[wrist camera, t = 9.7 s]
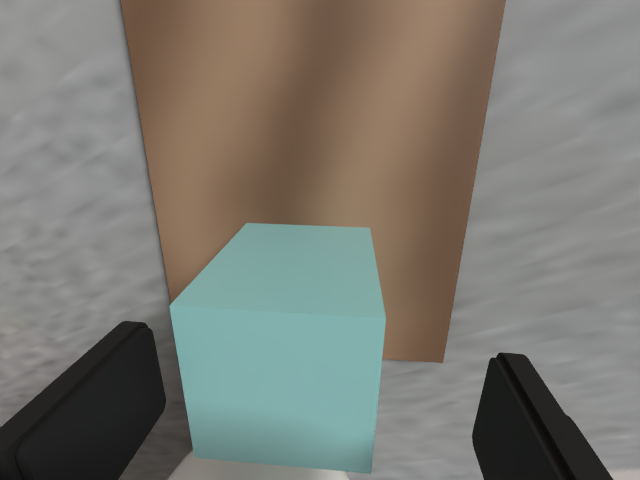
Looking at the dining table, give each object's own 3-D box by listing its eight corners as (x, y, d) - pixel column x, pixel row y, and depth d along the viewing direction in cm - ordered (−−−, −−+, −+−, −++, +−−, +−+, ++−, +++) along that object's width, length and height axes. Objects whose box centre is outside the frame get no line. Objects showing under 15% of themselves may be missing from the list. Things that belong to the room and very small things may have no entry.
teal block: (370, 227, 14) (386, 318, 8) (362, 332, 16) (371, 473, 10) (246, 222, 14) (169, 305, 8) (253, 326, 16) (194, 457, 10)
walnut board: (524, -171, 10) (539, -194, 9) (438, 351, 17) (442, 362, 16) (109, -152, 11) (92, -171, 10) (185, 335, 18) (178, 345, 17)
